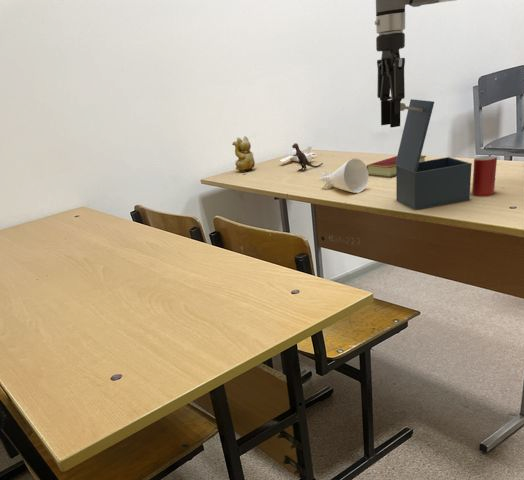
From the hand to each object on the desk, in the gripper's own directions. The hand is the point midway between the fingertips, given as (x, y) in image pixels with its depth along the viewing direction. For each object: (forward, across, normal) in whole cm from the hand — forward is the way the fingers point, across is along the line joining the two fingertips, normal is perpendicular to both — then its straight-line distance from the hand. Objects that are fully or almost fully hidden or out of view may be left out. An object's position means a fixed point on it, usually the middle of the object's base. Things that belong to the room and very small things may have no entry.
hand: (390, 125), depth 153 cm
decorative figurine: (+24, -100, -29) cm, 107 cm away
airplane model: (+24, -99, -3) cm, 102 cm away
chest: (+24, 0, +14) cm, 27 cm away
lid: (+4, 0, +8) cm, 8 cm away
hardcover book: (+24, -48, +23) cm, 59 cm away
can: (+24, +2, +30) cm, 38 cm away
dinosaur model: (+24, -80, -4) cm, 84 cm away
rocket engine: (+24, -34, -4) cm, 41 cm away
